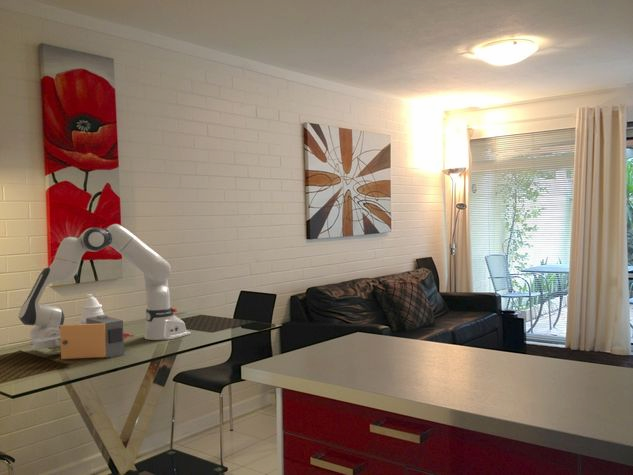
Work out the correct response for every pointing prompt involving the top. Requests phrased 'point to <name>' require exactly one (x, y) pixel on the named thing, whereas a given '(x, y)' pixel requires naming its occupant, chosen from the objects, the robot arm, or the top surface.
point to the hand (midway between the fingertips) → (65, 343)
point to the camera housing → (111, 334)
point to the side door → (83, 341)
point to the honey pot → (90, 309)
